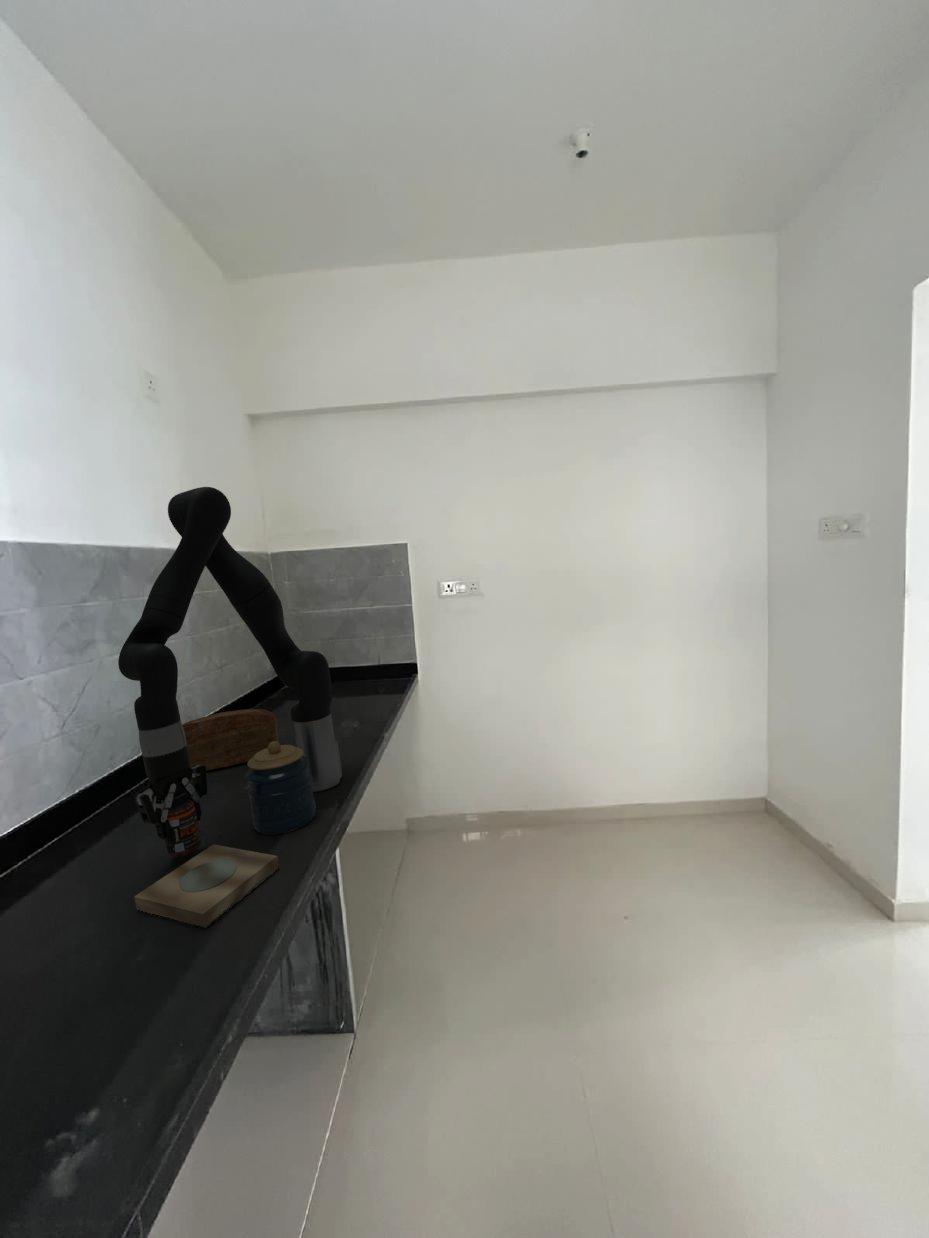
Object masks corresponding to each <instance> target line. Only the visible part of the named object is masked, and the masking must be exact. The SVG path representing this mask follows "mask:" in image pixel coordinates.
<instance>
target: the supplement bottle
mask: <svg viewBox="0 0 929 1238" xmlns="http://www.w3.org/2000/svg"><path fill="white" fill-rule="evenodd" d="M162 802H163V803H164V802H165V801H162ZM167 820H168V822H169V827H170V832H171V838H170V839H169V840H164V842H165V847H166V850H167V854H168V855H169V856H171V857H183V856H186V855H188V854H189V855H190V854H191V853H193V852H194V851H196V850H198V849H199V847H200V846H201V844H202V838H201V831H200V827H199V823H198V822H199V821H197V816H196V811H195V806H194V803H193V801H191V800H188V799H187V794H186V791H185V792H183V793H181V794H179V795H178V796H176V797H174V798H173V800H172V805H171V808H170V809H169V810H168V815H167Z"/></svg>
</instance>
